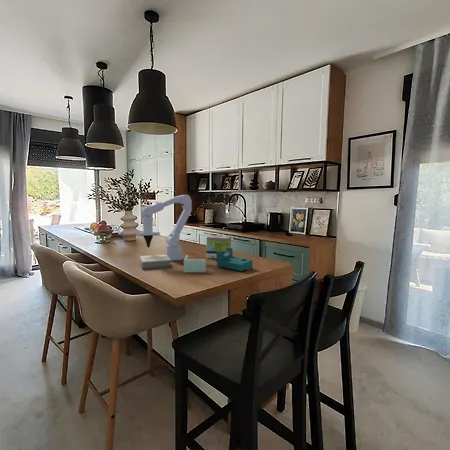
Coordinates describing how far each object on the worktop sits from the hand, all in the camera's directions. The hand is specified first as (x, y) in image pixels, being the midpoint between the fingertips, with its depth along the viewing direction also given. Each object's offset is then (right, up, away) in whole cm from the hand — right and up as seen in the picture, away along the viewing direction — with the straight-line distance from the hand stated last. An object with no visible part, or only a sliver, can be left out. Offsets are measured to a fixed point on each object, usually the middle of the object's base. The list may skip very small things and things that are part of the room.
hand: (148, 247), depth 180 cm
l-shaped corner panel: (+32, -12, -18) cm, 39 cm away
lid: (+7, -6, -10) cm, 13 cm away
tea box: (+45, -9, +14) cm, 48 cm away
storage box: (+7, -10, -9) cm, 16 cm away
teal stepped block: (+55, -12, -14) cm, 58 cm away
